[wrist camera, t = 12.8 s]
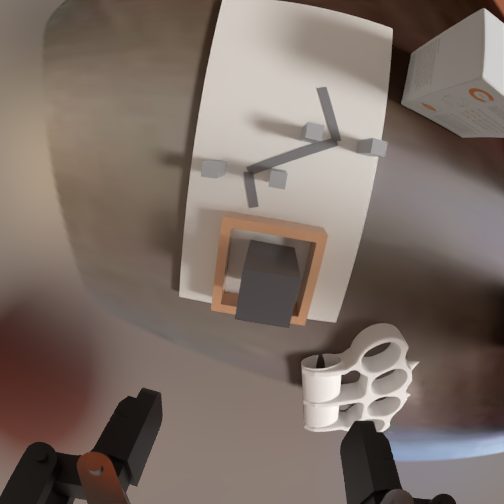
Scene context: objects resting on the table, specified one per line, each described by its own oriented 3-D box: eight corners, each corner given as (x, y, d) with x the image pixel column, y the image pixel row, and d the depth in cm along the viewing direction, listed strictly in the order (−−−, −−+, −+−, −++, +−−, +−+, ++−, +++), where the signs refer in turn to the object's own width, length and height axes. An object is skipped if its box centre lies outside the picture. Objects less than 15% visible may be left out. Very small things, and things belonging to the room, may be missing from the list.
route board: (389, 32, 20) (408, 13, 15) (334, 317, 30) (343, 345, 25) (225, 0, 20) (215, -25, 15) (181, 292, 30) (166, 316, 25)
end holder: (323, 227, 26) (328, 235, 23) (302, 311, 29) (304, 325, 26) (226, 210, 26) (222, 216, 24) (215, 297, 29) (210, 310, 26)
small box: (471, 87, 21) (555, 72, 8) (462, 138, 23) (552, 143, 10) (409, 51, 20) (483, 4, 8) (398, 104, 23) (481, 79, 10)
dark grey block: (294, 247, 27) (301, 278, 20) (285, 287, 28) (288, 327, 21) (250, 239, 27) (242, 268, 20) (243, 280, 28) (234, 318, 21)
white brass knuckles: (298, 331, 31) (421, 313, 30) (303, 429, 37) (399, 413, 35) (301, 350, 28) (433, 328, 26) (304, 447, 33) (405, 429, 32)
